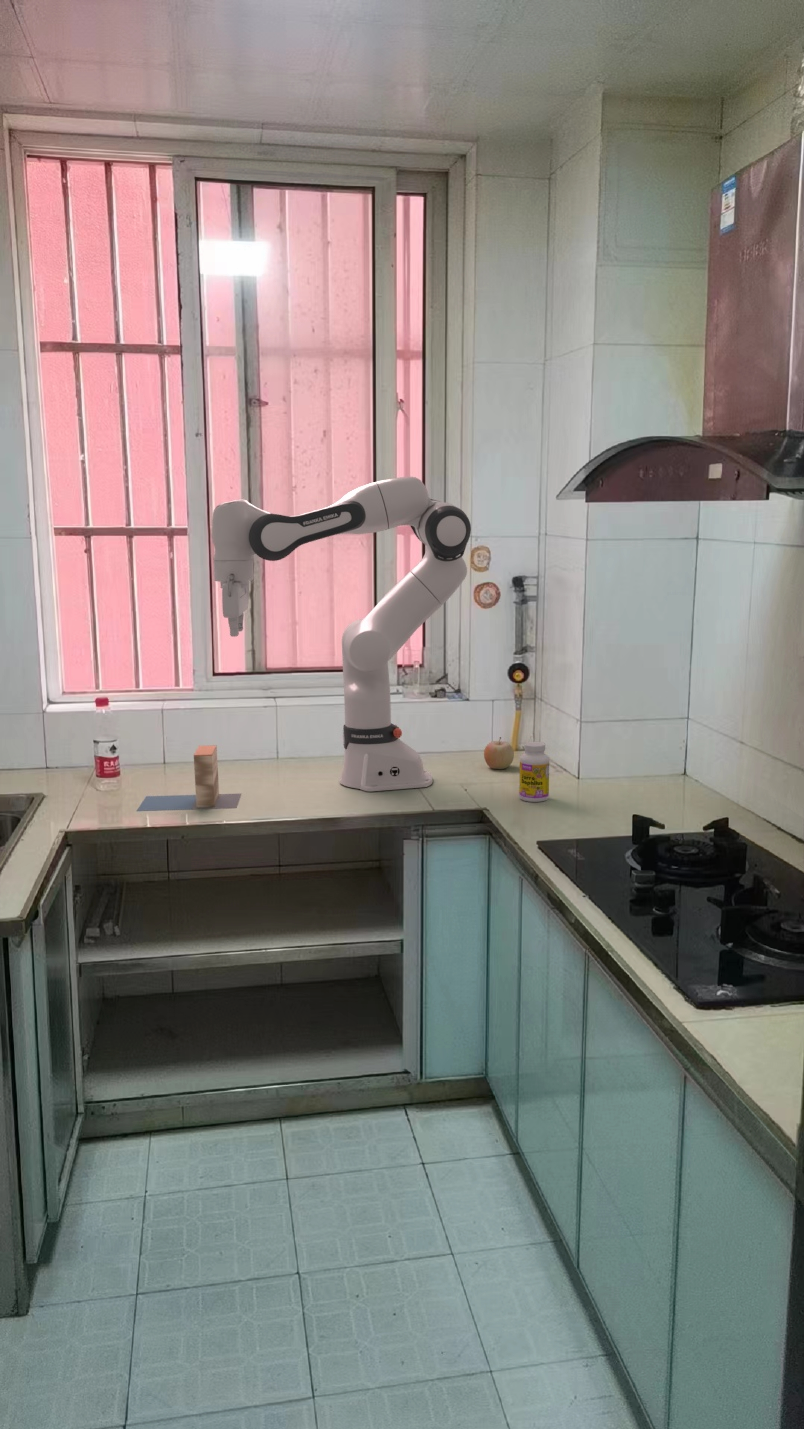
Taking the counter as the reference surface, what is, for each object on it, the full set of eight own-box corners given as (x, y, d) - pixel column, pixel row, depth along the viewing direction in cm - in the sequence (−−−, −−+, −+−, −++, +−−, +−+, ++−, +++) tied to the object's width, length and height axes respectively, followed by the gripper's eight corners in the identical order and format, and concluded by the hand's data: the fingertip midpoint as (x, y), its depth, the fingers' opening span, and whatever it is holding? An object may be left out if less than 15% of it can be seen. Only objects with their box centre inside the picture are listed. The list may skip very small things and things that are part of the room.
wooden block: (219, 795, 247) (216, 745, 244) (214, 806, 238) (211, 754, 236) (201, 796, 247) (199, 745, 244) (196, 807, 238) (193, 755, 235)
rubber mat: (241, 795, 249) (241, 793, 248) (236, 810, 237) (236, 808, 237) (146, 798, 247) (146, 796, 247) (136, 813, 236) (136, 810, 236)
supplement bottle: (515, 801, 240) (516, 745, 238) (523, 793, 246) (524, 739, 244) (544, 804, 238) (545, 748, 235) (551, 796, 244) (552, 741, 241)
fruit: (497, 763, 276) (497, 732, 274) (519, 767, 270) (519, 737, 269) (477, 768, 271) (477, 737, 269) (498, 773, 265) (498, 742, 264)
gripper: (243, 575, 231) (246, 639, 234) (252, 569, 251) (254, 628, 254) (214, 576, 231) (217, 639, 234) (225, 570, 251) (228, 628, 254)
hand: (236, 633), depth 244 cm, fingers open, 8 cm apart
